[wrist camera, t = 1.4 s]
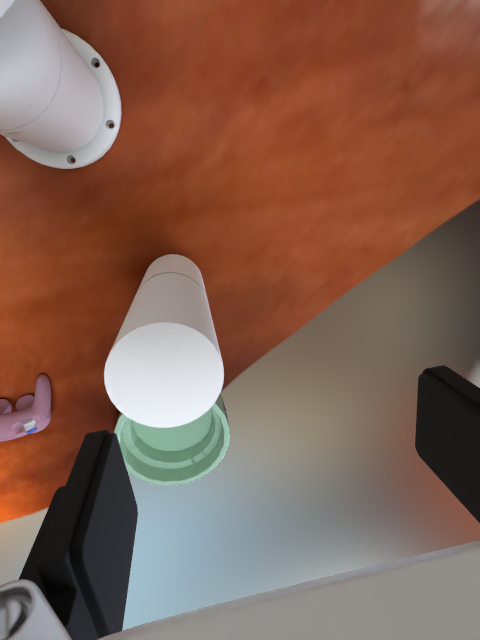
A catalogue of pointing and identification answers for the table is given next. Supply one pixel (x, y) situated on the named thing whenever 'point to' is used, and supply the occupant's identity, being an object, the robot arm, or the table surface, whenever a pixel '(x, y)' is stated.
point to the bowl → (174, 447)
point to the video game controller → (26, 412)
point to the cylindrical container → (166, 349)
